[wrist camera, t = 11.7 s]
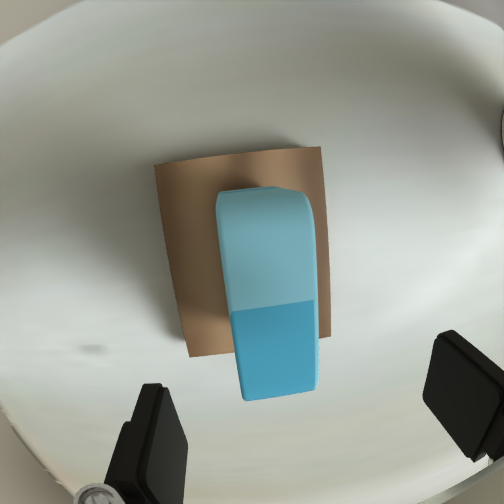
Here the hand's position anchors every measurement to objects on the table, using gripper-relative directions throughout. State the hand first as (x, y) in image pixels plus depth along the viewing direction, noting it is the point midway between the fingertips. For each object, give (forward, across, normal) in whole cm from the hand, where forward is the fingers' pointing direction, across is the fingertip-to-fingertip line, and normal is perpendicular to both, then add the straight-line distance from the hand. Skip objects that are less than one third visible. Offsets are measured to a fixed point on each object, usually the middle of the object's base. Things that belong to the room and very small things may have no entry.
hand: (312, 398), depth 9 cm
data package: (+18, +1, 0) cm, 18 cm away
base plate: (+21, +1, 0) cm, 21 cm away
